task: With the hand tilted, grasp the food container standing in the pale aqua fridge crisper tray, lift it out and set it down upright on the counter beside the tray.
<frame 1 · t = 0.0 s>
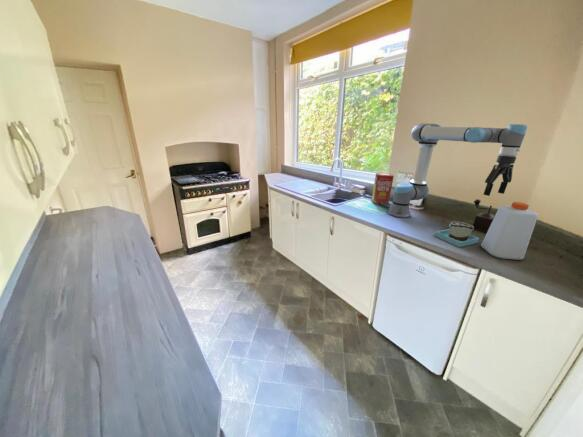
hand: (493, 194, 133), 28 cm above the counter, tool pointing down, fingers open, 13 cm apart
food container: (455, 238, 141), resting on crisper tray
plastic bottle: (500, 253, 127), on the counter
pepper mill: (478, 228, 159), on the counter
crisper tray: (455, 239, 141), on the counter
food packaging: (379, 202, 207), on the counter
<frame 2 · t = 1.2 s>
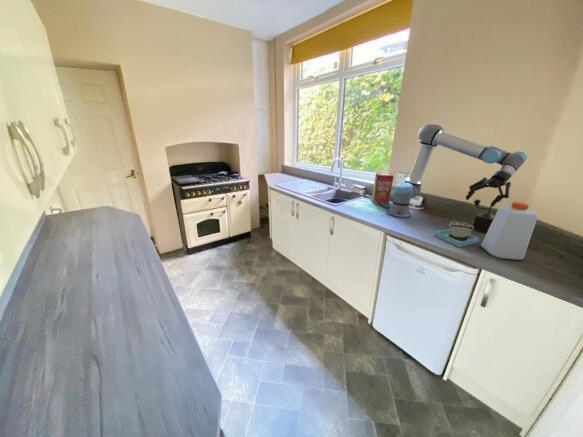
hand: (478, 201, 137), 23 cm above the counter, tool tilted 45°, fingers open, 13 cm apart
nothing on the counter moved.
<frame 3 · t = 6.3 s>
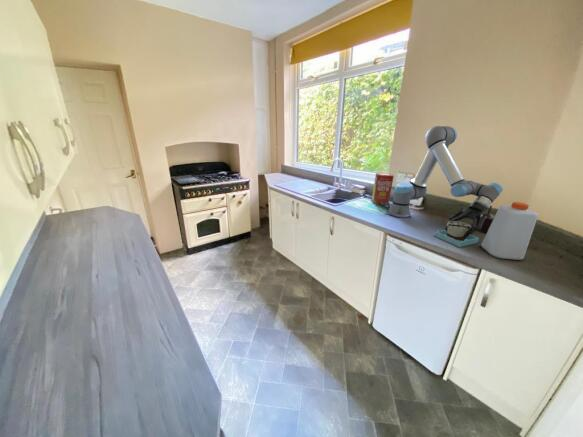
hand: (454, 233, 138), 4 cm above the counter, tool tilted 45°, fingers closed on food container, 10 cm apart
food container: (453, 238, 142), resting on crisper tray, touching gripper
everything else where it was.
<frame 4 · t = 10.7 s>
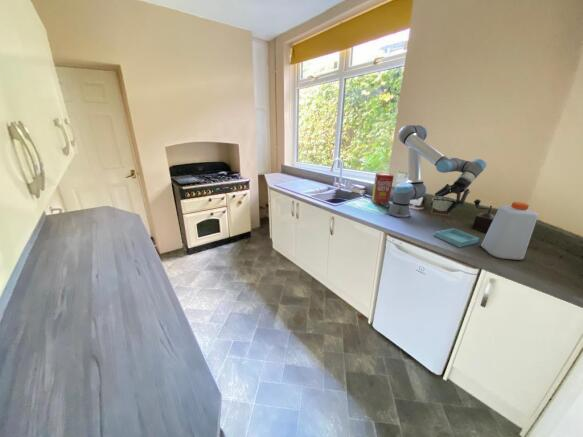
hand: (439, 208, 143), 17 cm above the counter, tool tilted 45°, fingers closed on food container, 10 cm apart
food container: (438, 212, 147), point 13 cm above the counter, touching gripper
everything else where it was.
when the fingers open (4 cm above the counter, at t = 15.1 s): food container stays where it is, on the counter.
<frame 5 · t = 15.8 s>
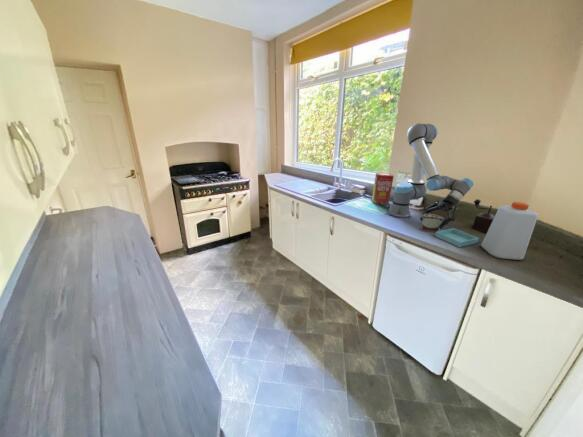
hand: (430, 223, 151), 5 cm above the counter, tool tilted 45°, fingers open, 13 cm apart
food container: (428, 229, 154), on the counter
everything else where it was.
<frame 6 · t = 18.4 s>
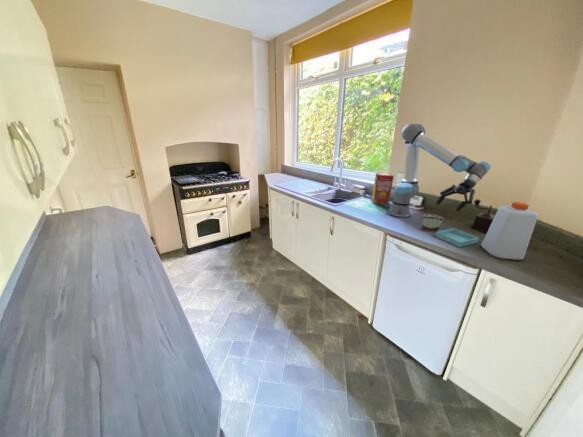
hand: (446, 206, 151), 15 cm above the counter, tool tilted 45°, fingers open, 13 cm apart
nothing on the counter moved.
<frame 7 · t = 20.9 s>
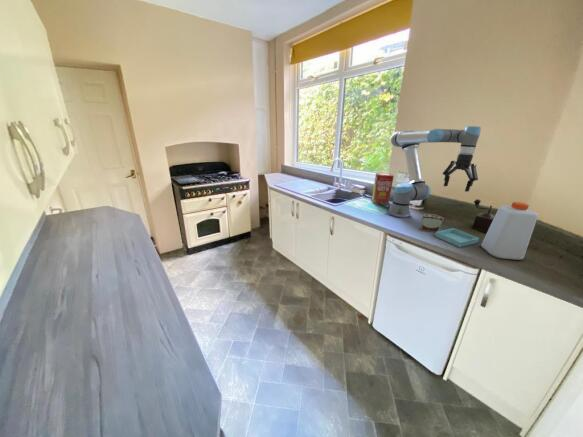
hand: (455, 188, 148), 27 cm above the counter, tool pointing down, fingers open, 13 cm apart
nothing on the counter moved.
at the end: food container inside the target area (1.4 cm from its centre), on the counter; food container tilted 0°; the gripper is holding nothing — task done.
